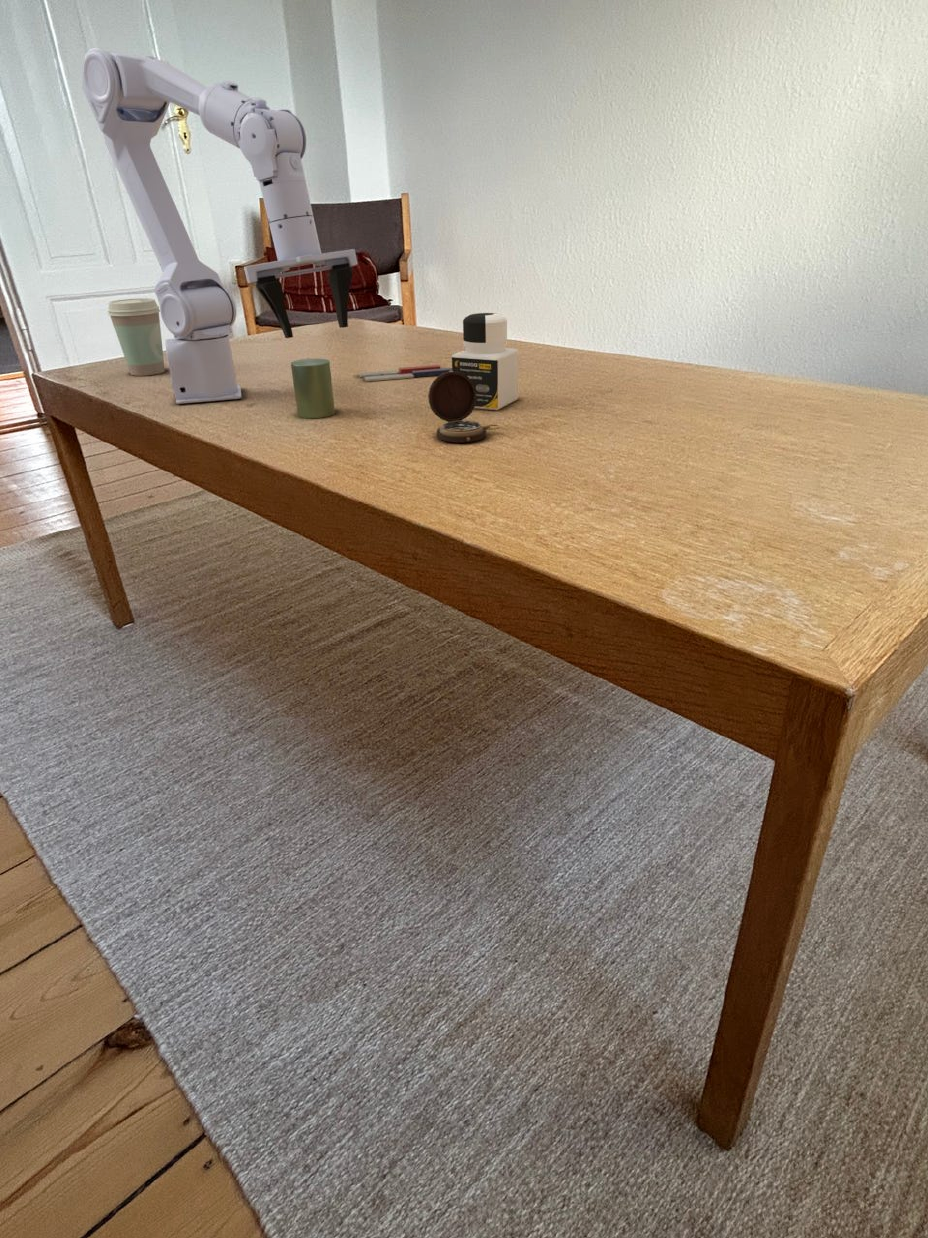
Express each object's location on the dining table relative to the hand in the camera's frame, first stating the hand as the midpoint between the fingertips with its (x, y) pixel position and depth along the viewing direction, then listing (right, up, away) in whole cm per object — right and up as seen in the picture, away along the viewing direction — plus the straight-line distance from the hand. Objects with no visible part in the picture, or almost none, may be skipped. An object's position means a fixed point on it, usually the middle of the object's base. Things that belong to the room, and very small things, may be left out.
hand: (316, 332), depth 101 cm
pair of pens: (+9, +3, +27) cm, 29 cm away
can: (-1, -10, +4) cm, 11 cm away
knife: (+11, +2, +24) cm, 27 cm away
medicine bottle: (+23, -8, +7) cm, 25 cm away
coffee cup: (-37, +5, +34) cm, 50 cm away
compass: (+20, -16, -7) cm, 27 cm away
